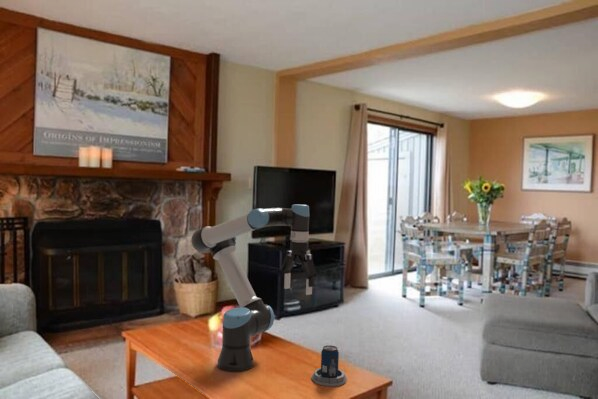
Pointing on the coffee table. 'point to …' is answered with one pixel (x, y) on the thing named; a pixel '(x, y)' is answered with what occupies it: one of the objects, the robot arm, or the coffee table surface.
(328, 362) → the soda can
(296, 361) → the coffee table surface
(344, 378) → the can holder
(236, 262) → the robot arm
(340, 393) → the coffee table surface
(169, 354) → the coffee table surface
